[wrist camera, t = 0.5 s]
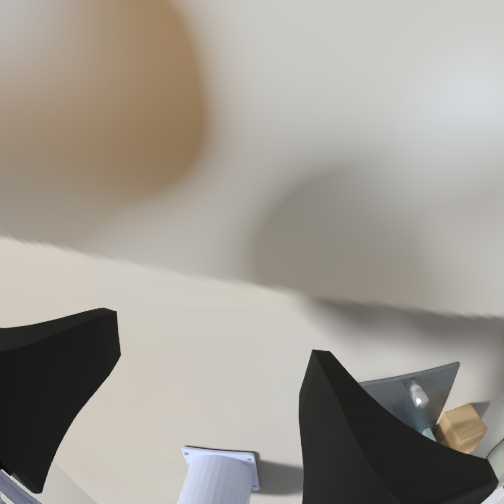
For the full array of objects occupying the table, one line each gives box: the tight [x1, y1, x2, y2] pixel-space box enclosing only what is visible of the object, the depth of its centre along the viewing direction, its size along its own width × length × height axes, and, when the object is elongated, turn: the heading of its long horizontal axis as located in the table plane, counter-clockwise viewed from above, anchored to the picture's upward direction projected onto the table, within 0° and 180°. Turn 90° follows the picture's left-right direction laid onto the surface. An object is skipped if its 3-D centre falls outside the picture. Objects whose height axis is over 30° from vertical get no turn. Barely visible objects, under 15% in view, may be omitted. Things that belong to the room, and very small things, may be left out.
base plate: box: [358, 362, 460, 434], centre depth 20 cm, size 17×11×4 cm, turn 5°
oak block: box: [433, 403, 487, 454], centre depth 18 cm, size 4×4×5 cm
